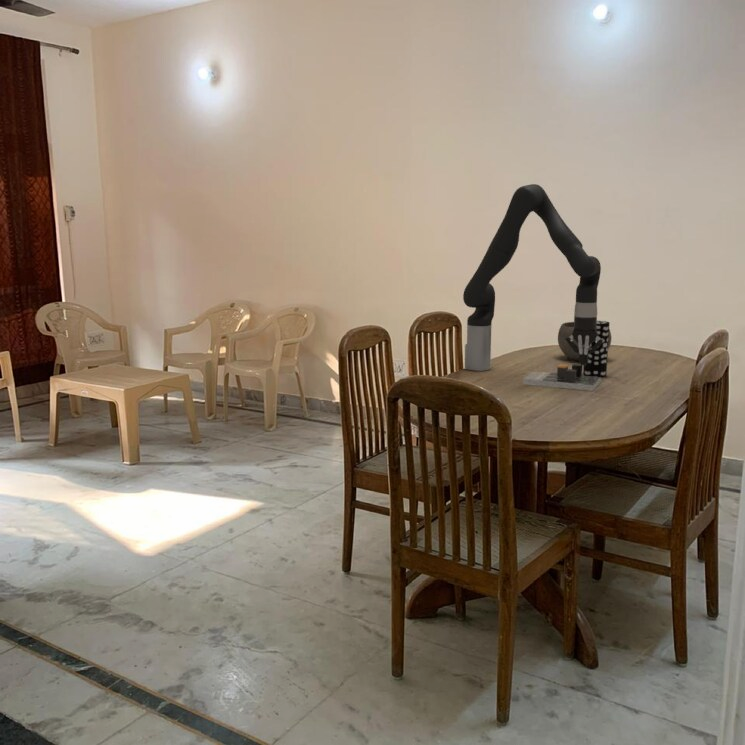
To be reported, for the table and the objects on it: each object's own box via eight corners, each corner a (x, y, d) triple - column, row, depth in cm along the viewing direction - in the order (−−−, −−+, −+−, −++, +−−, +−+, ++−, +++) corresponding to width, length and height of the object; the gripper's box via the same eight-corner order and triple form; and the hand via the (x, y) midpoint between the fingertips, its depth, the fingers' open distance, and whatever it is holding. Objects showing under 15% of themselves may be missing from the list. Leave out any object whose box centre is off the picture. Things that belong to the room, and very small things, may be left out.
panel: (523, 384, 271) (523, 367, 269) (533, 376, 283) (534, 360, 282) (592, 390, 260) (593, 373, 259) (600, 382, 273) (601, 365, 271)
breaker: (557, 377, 270) (557, 365, 270) (559, 375, 273) (559, 364, 272) (565, 377, 269) (566, 366, 268) (567, 376, 272) (568, 365, 271)
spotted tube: (607, 378, 279) (610, 324, 275) (583, 377, 281) (586, 323, 277) (605, 373, 287) (608, 320, 283) (582, 373, 289) (585, 320, 285)
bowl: (550, 361, 311) (551, 324, 308) (566, 353, 329) (568, 318, 325) (601, 366, 301) (604, 328, 297) (615, 357, 318) (618, 322, 315)
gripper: (563, 315, 263) (561, 365, 266) (603, 317, 257) (600, 368, 261) (568, 313, 269) (566, 361, 273) (607, 314, 264) (604, 364, 267)
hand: (583, 364), depth 267 cm, fingers closed
